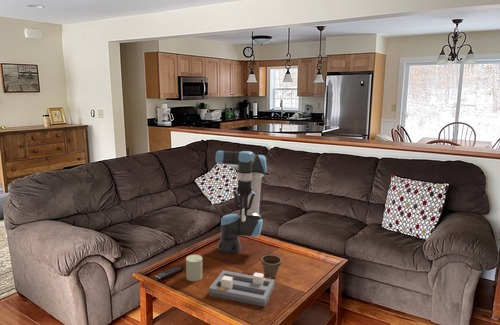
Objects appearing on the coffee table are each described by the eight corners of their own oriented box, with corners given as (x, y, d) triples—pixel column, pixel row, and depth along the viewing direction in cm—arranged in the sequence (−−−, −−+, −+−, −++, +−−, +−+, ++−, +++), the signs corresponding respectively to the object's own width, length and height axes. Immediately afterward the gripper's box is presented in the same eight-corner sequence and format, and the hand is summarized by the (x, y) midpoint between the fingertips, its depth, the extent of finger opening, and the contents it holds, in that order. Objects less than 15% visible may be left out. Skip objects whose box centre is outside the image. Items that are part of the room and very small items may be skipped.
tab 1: (223, 285, 197) (224, 275, 196) (232, 287, 196) (233, 277, 195) (221, 289, 194) (221, 279, 192) (230, 291, 192) (230, 280, 191)
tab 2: (254, 282, 202) (255, 272, 200) (263, 284, 200) (264, 273, 199) (252, 286, 198) (252, 275, 197) (261, 287, 196) (262, 277, 195)
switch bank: (223, 276, 211) (223, 269, 210) (274, 286, 202) (274, 279, 202) (208, 295, 192) (209, 287, 191) (265, 306, 184) (265, 299, 183)
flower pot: (284, 278, 212) (285, 261, 210) (266, 282, 207) (267, 265, 205) (273, 268, 222) (274, 253, 220) (257, 272, 217) (257, 256, 215)
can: (194, 283, 203) (194, 262, 201) (182, 277, 209) (182, 257, 206) (205, 276, 210) (206, 257, 208) (194, 271, 216) (194, 252, 213)
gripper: (231, 180, 202) (230, 221, 207) (254, 182, 198) (252, 224, 203) (235, 177, 209) (234, 216, 214) (258, 179, 205) (256, 219, 210)
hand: (243, 220), depth 208 cm, fingers closed
